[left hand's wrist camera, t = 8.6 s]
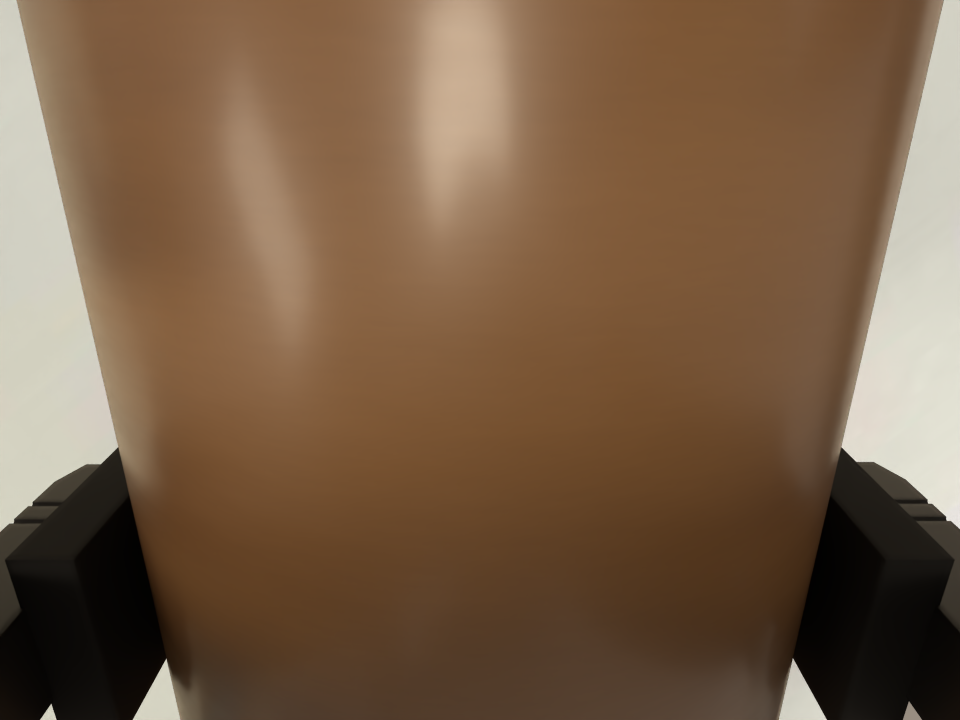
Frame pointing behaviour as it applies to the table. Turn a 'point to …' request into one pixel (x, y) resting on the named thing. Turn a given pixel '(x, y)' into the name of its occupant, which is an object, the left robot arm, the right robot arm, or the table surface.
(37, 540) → the left robot arm
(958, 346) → the table surface
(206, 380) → the rod
